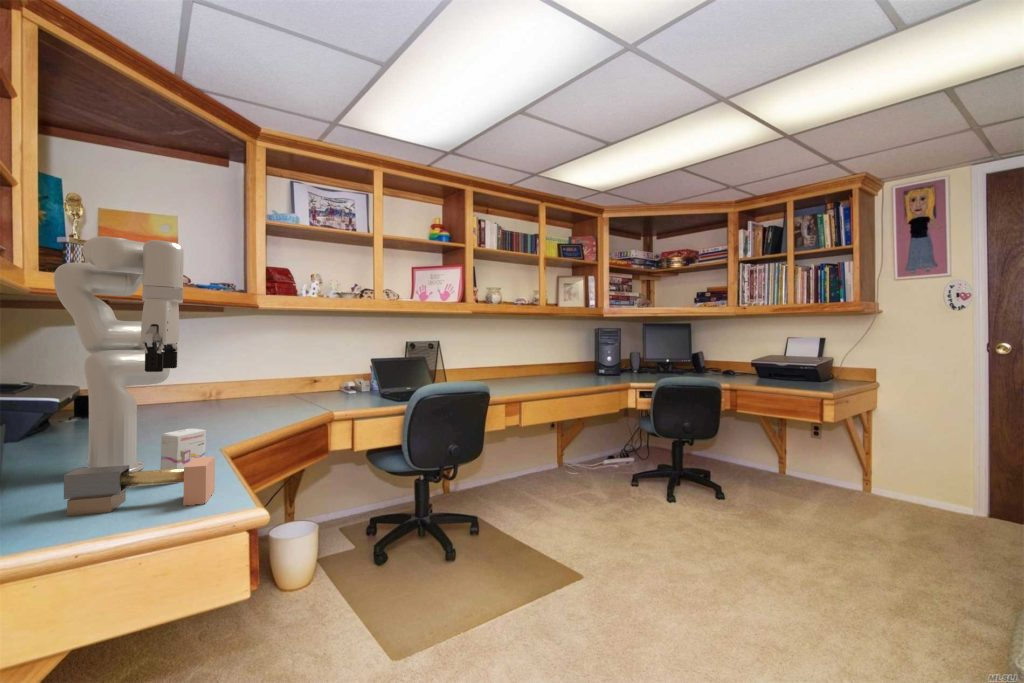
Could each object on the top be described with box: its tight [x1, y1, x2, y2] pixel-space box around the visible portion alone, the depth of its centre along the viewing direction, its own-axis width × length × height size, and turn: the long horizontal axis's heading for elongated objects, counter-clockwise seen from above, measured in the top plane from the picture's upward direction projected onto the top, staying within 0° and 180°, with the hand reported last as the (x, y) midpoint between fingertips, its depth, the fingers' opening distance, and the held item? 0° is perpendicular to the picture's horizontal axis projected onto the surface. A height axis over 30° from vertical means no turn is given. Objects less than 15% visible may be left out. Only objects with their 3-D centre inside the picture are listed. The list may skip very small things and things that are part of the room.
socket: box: [183, 456, 216, 507], centre depth 103 cm, size 4×8×8 cm, turn 21°
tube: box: [121, 468, 184, 488], centre depth 100 cm, size 16×3×3 cm, turn 111°
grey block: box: [63, 465, 130, 517], centre depth 96 cm, size 9×7×8 cm
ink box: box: [159, 427, 207, 470], centre depth 117 cm, size 9×5×12 cm, turn 168°
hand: (161, 369), depth 107 cm, fingers open, 9 cm apart
